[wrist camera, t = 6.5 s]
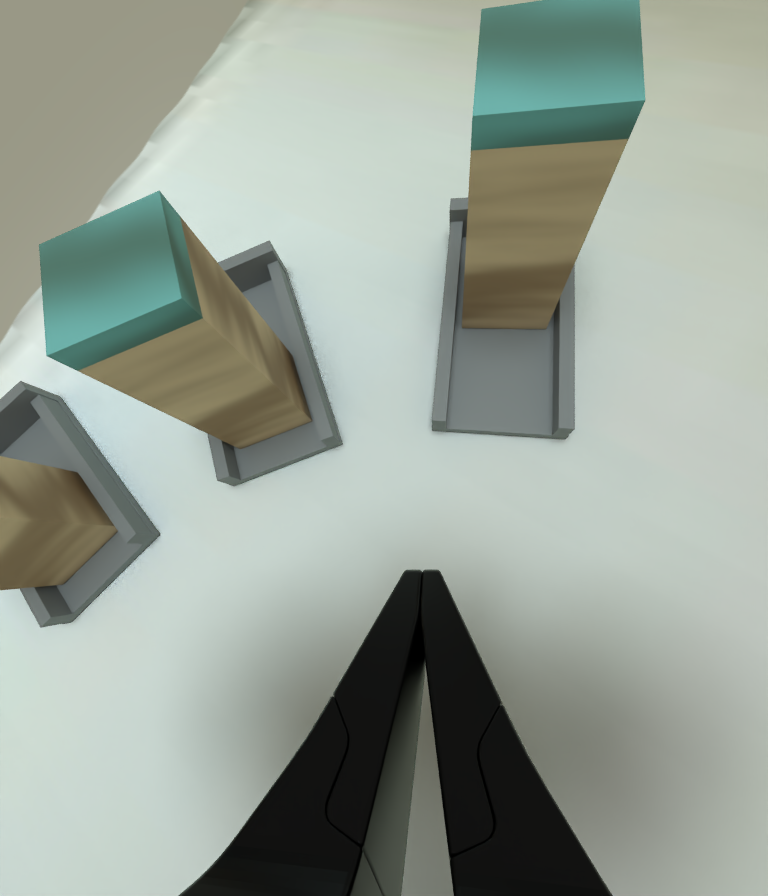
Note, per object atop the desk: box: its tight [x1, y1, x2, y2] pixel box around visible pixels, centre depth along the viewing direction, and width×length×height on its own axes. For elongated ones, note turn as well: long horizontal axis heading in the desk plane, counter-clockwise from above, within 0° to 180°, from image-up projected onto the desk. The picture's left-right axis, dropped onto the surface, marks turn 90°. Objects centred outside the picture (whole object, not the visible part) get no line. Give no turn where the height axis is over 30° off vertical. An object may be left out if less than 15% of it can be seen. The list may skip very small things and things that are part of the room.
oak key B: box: [39, 191, 312, 449], centre depth 17 cm, size 4×4×11 cm
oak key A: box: [462, 0, 645, 329], centre depth 16 cm, size 4×4×11 cm
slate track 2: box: [208, 241, 343, 486], centre depth 22 cm, size 13×7×2 cm, turn 19°
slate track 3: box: [432, 198, 575, 439], centre depth 20 cm, size 13×7×2 cm, turn 173°
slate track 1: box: [0, 381, 160, 627], centre depth 22 cm, size 13×7×2 cm, turn 45°
